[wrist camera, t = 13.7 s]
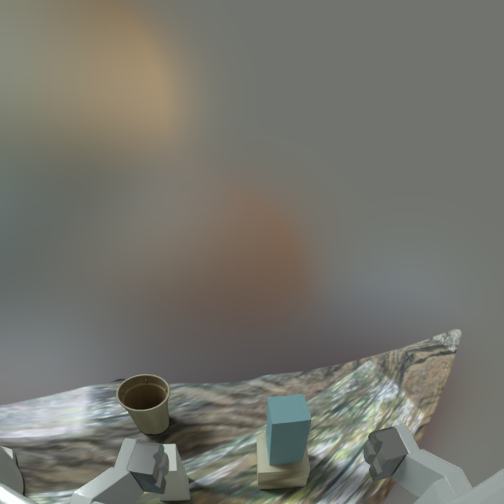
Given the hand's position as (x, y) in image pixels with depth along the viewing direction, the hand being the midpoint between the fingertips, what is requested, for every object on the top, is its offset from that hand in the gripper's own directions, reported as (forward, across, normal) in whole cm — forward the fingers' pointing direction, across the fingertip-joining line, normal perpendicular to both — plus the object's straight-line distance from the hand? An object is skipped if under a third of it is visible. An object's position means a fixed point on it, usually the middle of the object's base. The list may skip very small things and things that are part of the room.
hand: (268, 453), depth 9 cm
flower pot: (+27, +18, +32) cm, 46 cm away
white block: (+13, +12, +32) cm, 37 cm away
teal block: (+17, -4, +26) cm, 32 cm away
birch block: (+17, -4, +32) cm, 37 cm away
